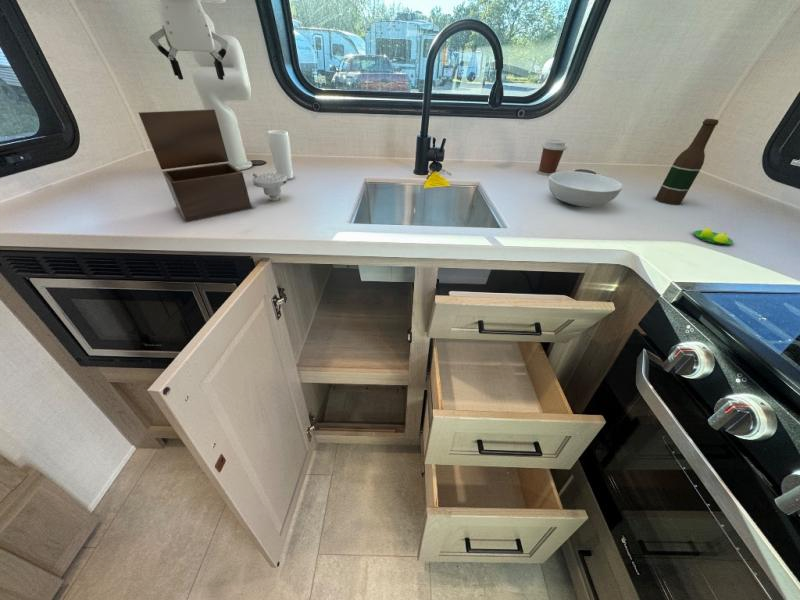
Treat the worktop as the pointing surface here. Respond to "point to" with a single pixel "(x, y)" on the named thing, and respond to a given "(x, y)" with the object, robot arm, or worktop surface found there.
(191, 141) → the lid
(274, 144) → the drinking glass
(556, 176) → the serving bowl
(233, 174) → the chest
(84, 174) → the worktop surface
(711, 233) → the green disc yellow mounds
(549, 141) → the coffee cup
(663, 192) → the beer bottle
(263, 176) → the showerhead
